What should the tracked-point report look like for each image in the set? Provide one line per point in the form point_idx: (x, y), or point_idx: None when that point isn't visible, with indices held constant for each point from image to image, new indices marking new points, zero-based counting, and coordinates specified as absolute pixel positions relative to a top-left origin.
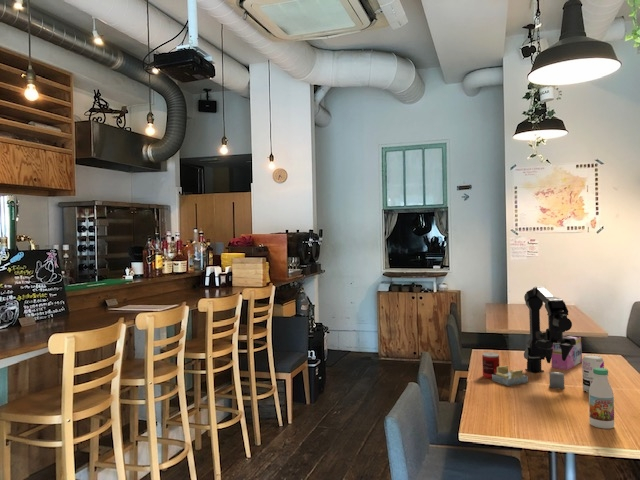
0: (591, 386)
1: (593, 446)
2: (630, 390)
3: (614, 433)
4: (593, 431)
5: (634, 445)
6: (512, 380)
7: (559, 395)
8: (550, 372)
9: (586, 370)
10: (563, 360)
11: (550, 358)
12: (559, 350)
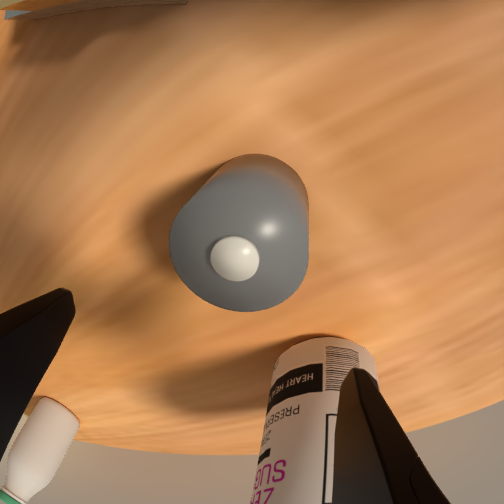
0: (7, 462)
1: None
2: (435, 418)
3: None
4: (32, 400)
5: None
6: (40, 12)
7: (121, 288)
8: (224, 193)
9: (258, 466)
10: (344, 380)
11: (33, 371)
12: None
